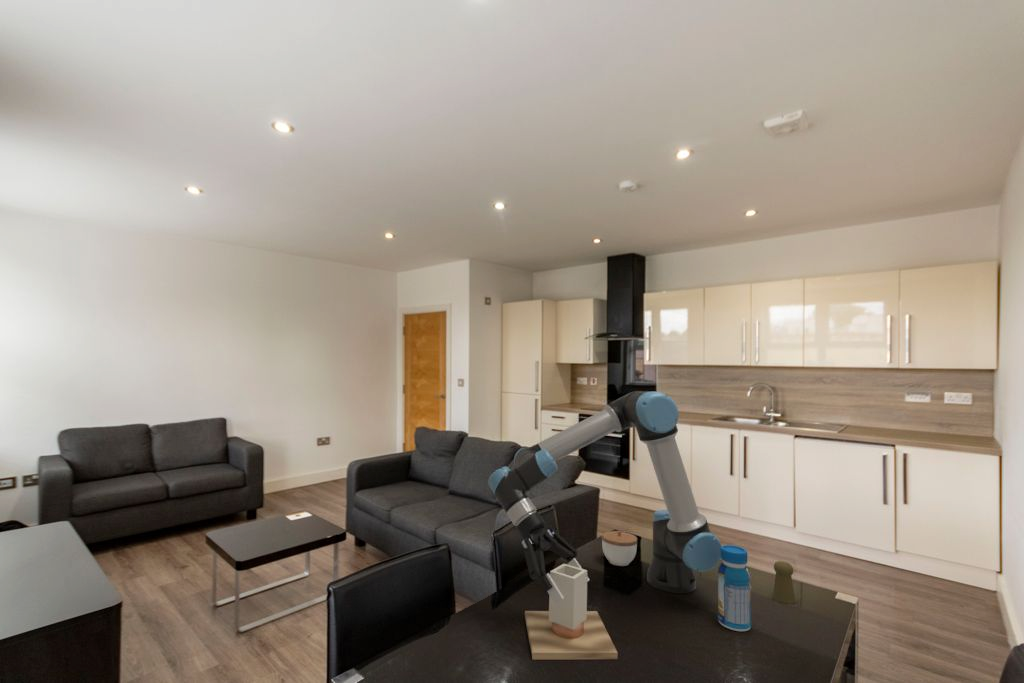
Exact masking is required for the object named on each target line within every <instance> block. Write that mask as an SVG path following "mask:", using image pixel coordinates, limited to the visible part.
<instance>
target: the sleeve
mask: <svg viewBox="0 0 1024 683" xmlns="http://www.w3.org/2000/svg"><path fill="white" fill-rule="evenodd" d="M567 564H568V563H562V564H561V565H559V566H557V567H556V568H554V569H552V570H550V572H549V575H550V576H551V578H552V579H553V581H554V583H555V584H556V586H557V587H558V589H559V591H560V592H561V594H562V595H563V597H564V598H563V599H562V600H561V601H560V602H558V603H557V604H556V605H555V603H554V602H553V600H552V598H551V597H550V595H549V594H548V595H549V598H548V600H549V603H548V611H549V621H551V622H554V623H556V624H559V625H562V626H564V627H567V628H569V629H572V630H574V629H575V628H576V627H577V626H579V625H580V624H581V623H582V622H583V621H585V620H586V619H587V611H588V609H587V608H588V604H587V603H588V582H587V577H588V570H587V569H584V568H582V569H581V568H577V567H574V566H571V565H567Z"/></svg>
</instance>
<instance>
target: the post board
mask: <svg viewBox="0 0 1024 683" xmlns="http://www.w3.org/2000/svg"><path fill="white" fill-rule="evenodd" d="M601 618H602V617H601V616H600V614H599V613H598V611H597V610H590V611H589V610H587V619H586V620H585V621H583V622H582V623H581V624H580V625H579V626H577V627H576V628H575V629H574V630H572V629H569V628H567V627H564V626H562V625H559V624H556V623H554V622H551V621H549V610H525V611H524V620H525V624H526V631H527V636H528V642H529V647H530V651H531V652H530V653H531V658H532V660H538V661H539V660H540V661H541V660H545V661H546V660H552V661H553V660H557V661H558V660H559V661H560V660H618V659H619V658H618V656H619V655H618V653H619V652H618V651H617V648H616V646H615V645H614V643H613V642H614V641H612V639H611V637H610V634H609V633H608V631H607V629H606V627H605V624H604V623H603V622H604V621H603V620H602V619H601Z"/></svg>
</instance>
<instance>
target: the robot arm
mask: <svg viewBox="0 0 1024 683" xmlns="http://www.w3.org/2000/svg"><path fill="white" fill-rule="evenodd" d="M679 416H680V413H679V408H678V405H677V404H676V402H675V401H674V400H673V399H672V398H671V397H670V396H669V395H667V394H665V393H663V392H659V391H656V390H655V391H648V390H647V391H642V390H634V391H631V392H628V393H627V394H625V395H623V396H621V397H618V398H617V399H615V400H613V401H612V402H610V403H608V404H606V405H604V408H603V410H601V411H599V412H596V413H595V414H593V415H591V416H589V417H587V418H585V419H583V420H581V421H579V422H577V423H574V424H573V425H572V426H569V427H567V428H565V429H563V430H562V431H560V432H557V433H555V434H553V435H552V436H550V437H548V438H546V439H544V440H541V441H540V442H538V443H536V444H534V445H531V446H530V447H523V448H519V449H518V450H517V451H516V453H515V454H514V458H513V463H514V465H515V467H514V468H513V469H510V467H508V466H502V467H500V468H498V469H496V470H495V471H493V473H492V474H491V475H490V476H489V477H488V481H487V483H488V485H489V487H490V489H491V491H492V492H493V495H494V496H495V497H496V499H497V501H498V503H500V505H501V507H502V509H503V510H504V512H505V513H506V514H507V516H508V518H509V520H510V521H511V522H512V525H514V527H516V532H518V534H519V536H520V537H521V539H523V540H522V541H521V542H520V544H519V545H520V548H521V549H522V551H523V554H524V557H525V562H526V566H527V569H528V574H529V578H530V579H531V580H532V581H533V580H534V581H535V582H540V583H541V586H543V588H544V590H545V591H546V592H547V593H548V595H550V597H551V598H552V600H553V602H554V603H555V605H556V604H557V603H558V602H560V601H561V600H562V599H563V598H564V597H563V595H562V594H561V592H560V591H559V589H558V587H557V586H556V584H555V583H554V581H553V579H552V578H551V576H550V572H548V573H547V572H546V565H545V564H546V563H545V558H544V557H545V556H544V552H545V551H549V552H550V551H551V552H553V553H554V554H556V555H557V556H559V557H560V558H561V559H563V560H565V561H566V562H568V563H566V564H567V565H571V566H574V567H577V568H581V569H583V568H582V565H581V564H580V562H579V561H578V560H577V558H576V557H577V556H578V551H577V549H576V548H575V547H573V546H572V545H571V544H570V543H569V542H568V540H565V539H564V537H562V536H561V535H560V534H559V533H558V532H557V530H555V528H554V527H553V526H550V527H549V528H548V529H547V528H545V525H546V522H545V520H544V518H543V517H542V516H541V514H540V512H537V507H536V506H535V505H534V503H533V502H532V501H531V499H530V498H529V496H528V495H527V493H528V492H530V491H531V490H532V489H534V488H535V487H537V486H538V485H540V484H541V483H543V482H544V481H545V480H547V479H548V478H550V477H551V476H552V475H554V473H556V472H557V471H558V468H559V467H558V465H557V463H556V461H559V460H561V459H563V458H565V457H567V456H569V455H570V454H572V453H575V452H576V451H578V450H581V449H582V448H584V447H587V446H589V445H590V444H592V443H594V442H596V441H598V440H600V439H602V438H604V437H605V436H608V435H609V434H611V433H614V432H617V433H621V432H623V431H625V430H628V429H631V428H635V430H636V433H637V436H638V438H639V441H640V442H642V443H643V444H645V445H646V447H647V451H648V453H649V457H650V459H651V463H652V466H653V470H654V473H655V476H656V478H657V481H658V485H659V488H660V491H661V494H662V497H663V500H664V504H665V507H666V509H661V510H660V509H658V510H656V511H654V513H653V517H652V558H651V561H650V564H649V567H648V570H647V576H646V581H647V583H648V584H649V585H650V586H651V587H653V588H655V589H658V590H659V591H664V592H666V593H672V594H673V593H674V594H689V593H692V592H694V591H695V590H696V588H697V580H696V576H695V573H694V571H695V572H699V573H705V572H709V571H711V570H713V569H714V568H715V567H717V565H719V561H720V560H721V552H720V549H721V546H722V543H721V540H720V539H719V538H718V537H717V535H715V534H714V533H712V532H711V529H710V526H709V523H708V520H707V518H706V516H705V515H704V514H701V513H700V512H699V510H698V506H697V503H696V500H695V497H694V494H693V491H692V488H691V484H690V481H689V478H688V475H687V471H686V469H685V465H684V462H683V459H682V456H681V453H680V449H679V447H678V444H677V440H676V436H677V434H678V432H679V429H678V426H677V424H678V423H677V422H678V420H679V418H680V417H679ZM589 581H590V578H589V576H587V583H588V582H589Z"/></svg>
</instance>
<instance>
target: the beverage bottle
mask: <svg viewBox="0 0 1024 683" xmlns="http://www.w3.org/2000/svg"><path fill="white" fill-rule="evenodd" d="M720 552H721V559H720V560H721V561H722V562H721V563H720V564H719V567H718V569H717V574H718V578H717V579H716V580H717V582H716V583H717V592H718V593H717V597H718V598H717V600H718V601H717V602H718V604H717V608H718V609H717V611H718V612H717V619H718V622H719V624H720V626H723V627H724V628H726V629H728V630H731V631H736V632H748V631H750V630H751V628H752V619H751V617H752V616H751V615H752V614H751V613H752V612H751V609H752V606H751V604H752V599H751V598H752V597H751V596H752V595H751V593H752V585H751V583H750V580H751V578H752V577H751V573H750V571H749V569H748V567H747V566H746V565H747V564H748V551H747V550H746V549H745V548H744V547H741V546H737V545H733V544H726V545H725V544H724V545H721V549H720Z"/></svg>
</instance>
